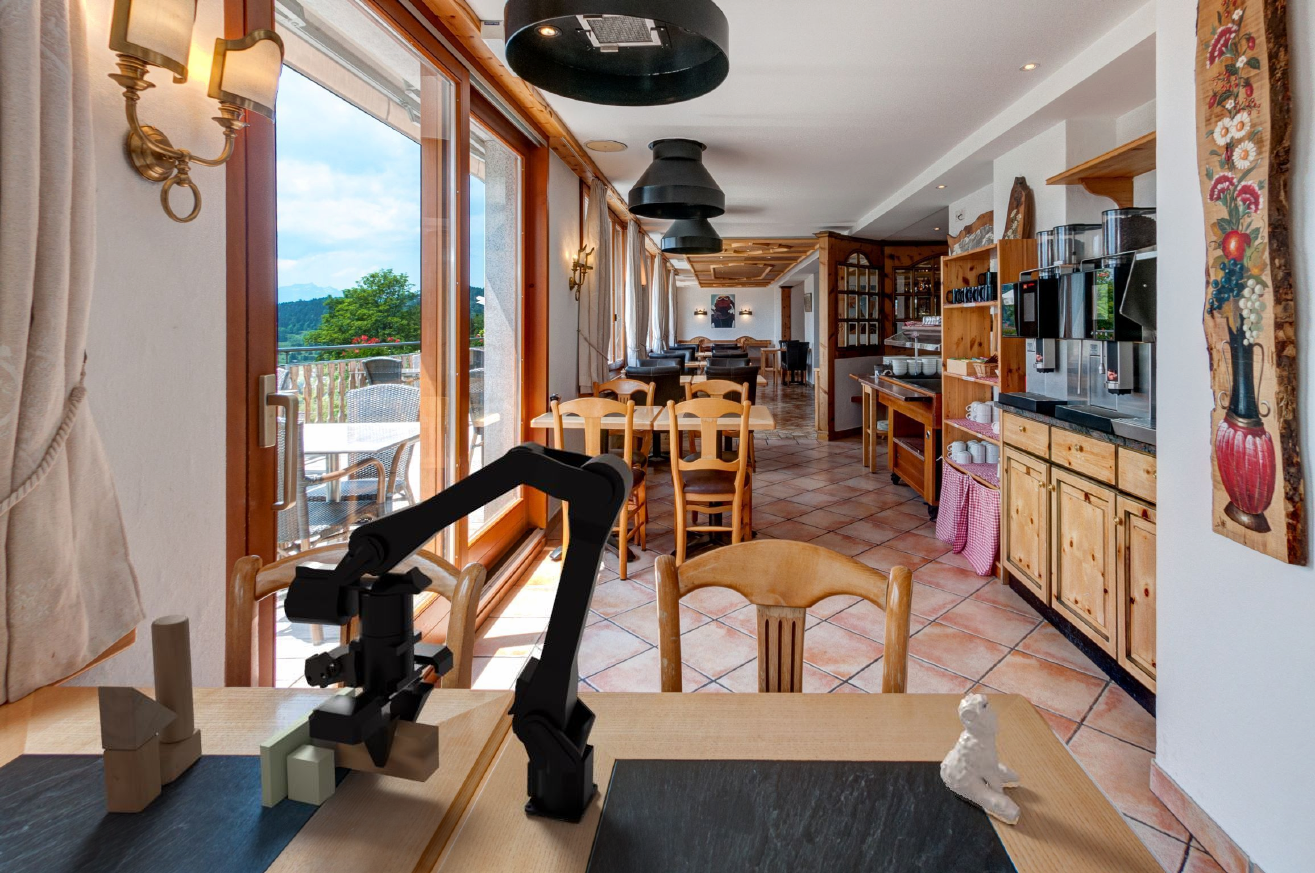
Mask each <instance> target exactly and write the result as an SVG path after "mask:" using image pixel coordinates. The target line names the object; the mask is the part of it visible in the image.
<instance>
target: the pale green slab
mask: <svg viewBox="0 0 1315 873" xmlns="http://www.w3.org/2000/svg"><path fill="white" fill-rule="evenodd" d="M338 694H339V695H345V696H351V697H356V688H350V687H346V686H345V687H343V688H342V689H340V690H339V691H338V692H336V693H335V694H334V695H338ZM319 705H320V704H318V705H317V706H319ZM312 713H313V709H311V710H310V711H308V712H306V713H305V714H304V715H302V716H300V718H298V719H296V720H295V721H293V722H292V723H290V724H288V725H287V726H286V727H284V728H283V729H282V730H280V731H279V732H277V733H276V734H274V735H273V736H272V737H270V738H268V739H267V740H265V741H264V742H263V743H261V744H260V745H259V752H260V753H259V754H260V755H259V756H260V778H261V779H260V780H261V781H260V782H261V800H262V802H261V805H262V806H263V807H267V808H270V809H271V808H273V807H275V805H277V804H278V803H279V802H280V801H283V799H285V798H286V797H287V796H288V800H292V801H296V802H300V803H301V802H302V803H306V804H311V805H315V806H321V805H322V804H323V803H324V802H325V801H326V800H328V799H329V798H330V797H331V796H332V795H333V794H334V793H335V792H336V777H335V776H336V774H335V772H336V771H335V767H334V750H330V749H325V748H320V747H315V746H314V738H311V737H309V723H308V717H309V716H310V715H311V714H312Z"/></svg>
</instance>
